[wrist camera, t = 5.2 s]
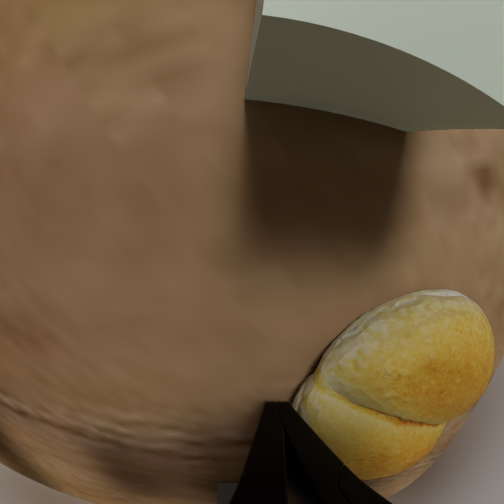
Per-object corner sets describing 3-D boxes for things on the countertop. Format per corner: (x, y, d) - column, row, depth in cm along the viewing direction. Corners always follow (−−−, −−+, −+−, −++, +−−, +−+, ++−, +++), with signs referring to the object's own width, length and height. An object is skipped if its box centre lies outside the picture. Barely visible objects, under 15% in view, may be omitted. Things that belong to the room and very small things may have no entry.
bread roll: (488, 316, 10) (538, 358, 7) (380, 441, 13) (404, 494, 9) (387, 235, 9) (468, 285, 5) (251, 418, 11) (259, 498, 7)
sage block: (244, 99, 7) (262, 14, 2) (261, -32, 6) (284, -139, 1) (405, 132, 8) (534, 129, 3) (404, 6, 6) (493, -48, 1)
